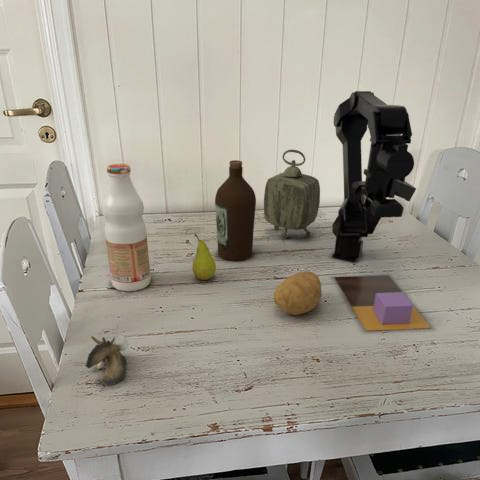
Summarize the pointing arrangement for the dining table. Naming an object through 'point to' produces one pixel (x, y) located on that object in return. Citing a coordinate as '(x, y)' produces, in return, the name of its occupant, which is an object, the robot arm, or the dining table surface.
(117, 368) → the brown animal figurine
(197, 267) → the fruit
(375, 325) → the pad
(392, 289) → the board
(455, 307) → the dining table surface
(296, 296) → the potato
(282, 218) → the tabletop clock
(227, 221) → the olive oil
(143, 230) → the fruit juice
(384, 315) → the block
